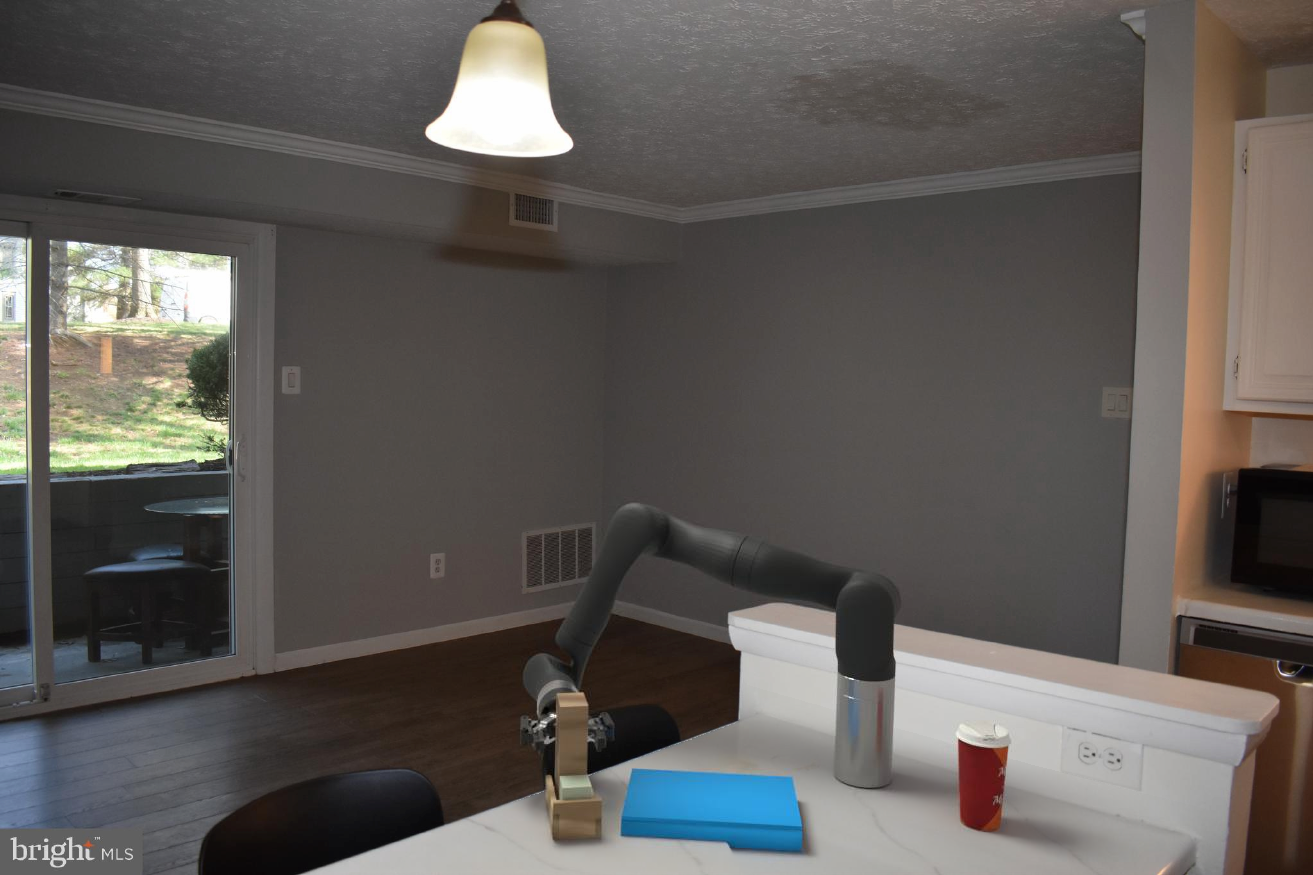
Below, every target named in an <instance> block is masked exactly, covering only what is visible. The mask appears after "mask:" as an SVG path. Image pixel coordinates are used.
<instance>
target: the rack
mask: <svg viewBox="0 0 1313 875" xmlns="http://www.w3.org/2000/svg"><path fill="white" fill-rule="evenodd" d="M589 780H590V778H589ZM590 783H591V780H590ZM591 784H592V783H591ZM544 790H545V793H544V794H545V797H544V799H545V804H546V810H547V815H548V820H549V825H550V832H551V836H552V840H553V841H558V840H571V839H572V840H573V839H585V838H586V839H587V838H588V839H589V838H601V837H602V817H603V816H602V813H603V811H602V809H603V808H602V807H603V799H602V797H601V796H599V797H596V795H595V793H594V789H593V786H592V785H591V798H582V799H566V800H556V796H555V791H554V790H555V785H554V782H553V777H552V775H551V774H546V775H545V789H544Z"/></svg>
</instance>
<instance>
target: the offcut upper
mask: <svg viewBox="0 0 1313 875" xmlns="http://www.w3.org/2000/svg"><path fill="white" fill-rule="evenodd" d="M589 779H590V778H589V774H587V775H572V776H560V785H559V798H560V800H566V799H582V798H591V786H592V783H590V782H591V780H589Z"/></svg>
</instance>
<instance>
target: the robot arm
mask: <svg viewBox="0 0 1313 875" xmlns="http://www.w3.org/2000/svg"><path fill="white" fill-rule="evenodd" d="M640 556H642V557H652V558H657V559H663V560H666V561H670V562H671V561H672V562H675V563H680V564H683V565H686V566H689V567H691V568H693V569H695V570H697V571H699V572H701V573H703V574H704V575H706V576H708V577H710V578H712V579H714V580H716V581H718V582H720V583H721V584H722V583H723V584H725V585H726V586H727V585H728V586H730V587H732V588H734V589H739V590H741V591H744V592H748V593H750V594H752V595H753V594H754V595H758V596H761V597H767V598H773V599H780V600H781V599H783V600H791V601H793V600H794V601H803V602H809V603H810V602H811V603H814V604H818V605H821V606H824V607H826V608H830V609H831V610H833V611H834V610H835V644H834V646H835V649H834V650H835V655H836V656H835V657H836V660H837V677H836V678H837V679H836V682H837V683H836V705H835V706H836V708H835V730H834V731H835V732H834V733H835V736H834V738H835V739H834V761H833V763H834V764H833V775H834V777H835V778H836V779H837V780H839V781H840V782H841V783H845V784H847V785H850V786H853V787H858V788H865V789H867V788H868V789H871V788H872V789H873V788H874V789H875V788H881V787H882V788H883V787H885V786H887V785H889V784H890V783H891V782H892V774H893V773H892V772H893V771H892V770H893V768H892V767H893V752H894V750H893V748H894V745H893V744H894V724H895V723H894V722H895V698H896V696H895V693H896V690H895V689H896V672H897V671H896V669H897V668H896V667H897V662H896V658H895V654H894V645H895V644H894V642H895V640H894V637H895V636H894V635H895V619H896V617H897V616H898V614H899V612H900V610H901V608H902V596H901V592H900V590H899V588H898V587H897V585H896V584H895V583H894V581H893V580H891V579H890V578H889V577H887V576H886V575H883V574H881V573H878V572H874V571H871V570H864V569H857V568H854V567H850V566H849V567H848V566H845V565H840V564H835V563H834V564H833V563H830V562H828V561H827V562H826V561H823V560H819V559H817V558H814V557H811V556H809V555H807V554H803V553H802V552H799V551H796V550H792V549H790V548H787V547H784V546H781V545H778V544H775V543H773V542H770V541H766V540H764V539H760V538H757V537H754V536H751V535H747V534H742V533H740V532H739V533H738V532H734V531H729V530H724V529H718V528H712V527H711V528H710V527H709V528H708V527H705V526H700V525H696V524H694V523H691V522H688V521H686V520H683V519H681V518H678V517H677V516H674V515H672V514H670V513H667V512H665V511H663V510H661V509H660V508H658V507H656V506H653V505H649V504H645V503H639V502H631V503H626V504H624V505H622V506H621V507H620V508H619V509H617V511H616V512H614V515H613V516H612V519H611V521H610V522H609V525H608V528H607V531H606V533H605V536H604V539H603V542H602V544H601V546H600V549H599V551H598V554H597V556H596V558H595V561H594V563H593V566H592V568H591V570H590V572H589V575H588V576H587V578H586V580H585V583H584V584H583V586H582V588H581V591H580V592H579V594H578V596H577V598H576V600H575V601H574V603H573V604H572V607H570V610H569V612H568V613H567V615H566V617H565V618H564V619H563V621H562V624H561V625H560V627H559V628H558V630H557V632H556V635H555V639H554V640H555V643H556V644H557V646H558V647H560V649H561V650H562V651H564V652H565V653H566V654H567V655H568V656H569V657H570V658H571V662H570V664H568V663H567V662H564V661H562V660H560V659H558V658H557V657H555V656H553V655H551V654H548V653H543V652H542V653H537V654H536V655H533V656H532V657H531V658H530V659H529V660H528V661H527V663H526V665H525V667H524V670H523V675H522V681H523V682H522V683H523V685H524V688H525V690H526V692H527V693H528V694H529V695H530V696H531V698H533V699H534V700H535V701H536V702H537V703H536V715H537V718H538V719H537V720H532V719H531V718H530V716H527V715H522V716H520V726H519V727H520V729H519V730H520V732H519V733H520V734H519V735H520V736H519V737H520V738H519V744H520V745H521V746H524V747H525V746H527V745H529V743H530V744H532V746H533V747H532V748H533V751H534V752H538V755H544V754H545V745H549V744H550V743H552V742H554V741H555V742H556V695H557V693H580V689H581V686H582V681H583V676H584V674H585V673H584V672H585V669H586V666H587V663H588V660H589V658H590V655H591V653H592V651H593V649H594V647H595V645H596V643H598V640H599V639H600V637H601V635H602V633H603V632H604V630H605V628H606V626H607V625H608V623H609V620H610V618H611V616H612V613H613V611H614V610H613V609H614V606H615V602H616V600H617V595H618V593H619V590H620V587H621V585H622V584H623V580H624V579H625V577H626V575H627V574H628V571H629V570H630V569H631V567H632V566H633V565H634V563H635V562H636V561H638V558H640ZM614 740H615V723H614V722H613V720H612V718H611V716H610V714H609V713H608V712H606V711H603V712H601V713H600V715H599V716H598V717H592V716H591V715H589V714H588V742H593V744H594V746H595V749H596V752H602V751H603V749H605V748H606V746H607V742H614Z"/></svg>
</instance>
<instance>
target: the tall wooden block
mask: <svg viewBox="0 0 1313 875" xmlns="http://www.w3.org/2000/svg"><path fill="white" fill-rule="evenodd" d="M588 715H589V703H588V701H587V698H586V696H585V693H584V692H581V691H580V692H579V693H557V695H556V741H555V742H554V743H555V745H554V746H555V748H554V750H555V751H554V753H555V754H554V791H555V796H556V800H559V785H560V776H572V775H588Z"/></svg>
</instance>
